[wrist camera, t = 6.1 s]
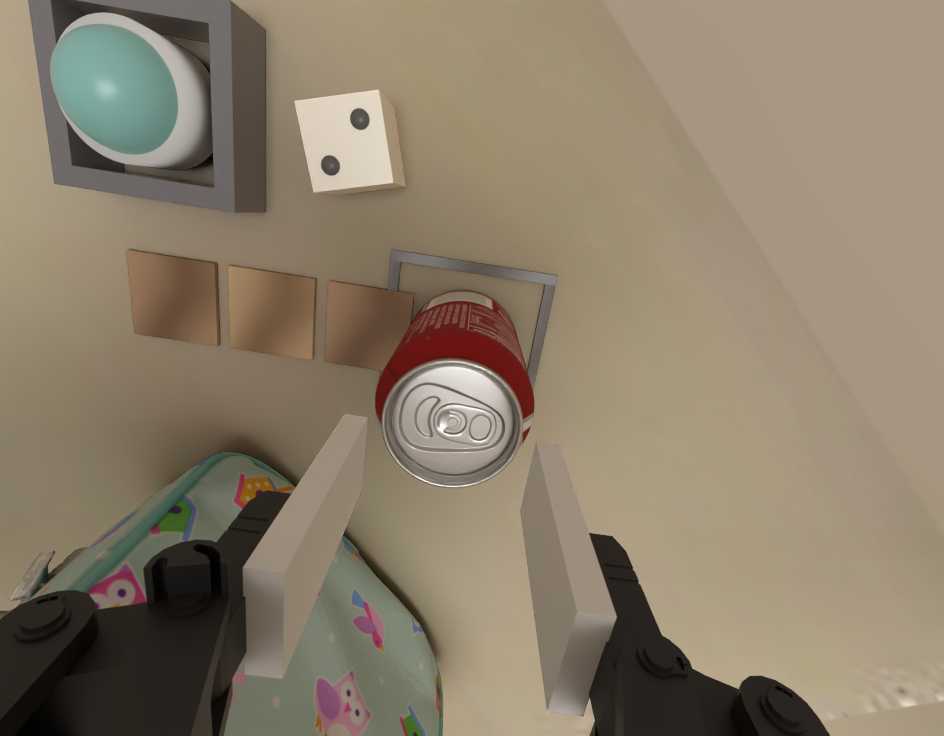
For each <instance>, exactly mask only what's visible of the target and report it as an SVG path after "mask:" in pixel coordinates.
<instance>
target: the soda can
mask: <svg viewBox="0 0 944 736" xmlns="http://www.w3.org/2000/svg"><path fill="white" fill-rule="evenodd" d="M375 408H376V415H377V420H378V423H379V426H380V429H381V431H382V434H383V438H384V441H385V444H386V446H387V449H388V451H389V452H390V454H391V456H392V457H393V459H394V460H395V461H396V462H397V463H398V465H399V466H400V467H401V468H402V469H404V470H405V471H406V472H407V473H409V474H410V475H412V476H413V477H415V478H417V479H418V480H420V481H423V482H425V483H428V484H431V485H434V486H438V487H445V488H462V487H469V486H473V485H477V484H480V483H482V482H485V481H487V480H489V479H491V478H492V477H494V476H496V475H497V474H498V473H500V472H501V471H502V470H503V469H504V468H505V467H506V466H507V465H508V464H509V463H510V462H511V460H512V459H513V457H514V456H515V454H516V452H517V450H518V449H519V447H520V446H521V445H522V443H523V442H524V440H525V439H526V437H527V435H528V432H529V430H530V427H531V424H532V420H533V415H534V395H533V390H532V386H531V382H530V379H529V375H528V372H527V368H526V365H525V362H524V358H523V355H522V351H521V348H520V344H519V341H518V338H517V334H516V331H515V328H514V325H513V323H512V321H511V319H510V317H509V315H508V314H507V313H506V311H505V310H504V309H503V308H502V307H501V306H500V305H499V304H498V303H496V302H495V301H494V300H492V299H491V298H489V297H487V296H485V295H482V294H479V293H476V292H471V291H453V292H449V293H445V294H442V295H440V296H437V297H436V298H434V299H432V300H431V301H429V302H428V303H427V304H426V305H424V306H423V307H422V309H421V310H420V311H419V312H418V313H417V315H416V317H415V318H414V320H413V322H412V323H411V325H410V327H409V328H408V330H407V332H406V333H405V335H404V336H403V338H402V340H401V341H400V343H399V345H398V346H397V348H396V350H395V351H394V353H393V355H392V356H391V358H390V360H389V361H388V363H387V365H386V367H385V368H384V370H383V372H382V374H381V376H380V379H379V382H378V385H377V390H376V397H375Z"/></svg>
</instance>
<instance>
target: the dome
mask: <svg viewBox="0 0 944 736" xmlns="http://www.w3.org/2000/svg"><path fill="white" fill-rule="evenodd" d="M50 77H51V82H52V87H53V90H54V93H55V95H56V98H57V100H58V103H59V105H60V108H61V110H62V112H63V114H64V116H65V118H66V119H67V121H68V122H69V124H70V125H71V127H72V128H73V130H74V131H75V132H76V133H77V134H78V136H79V137H80V138H81V139H82V140H83V141H84V142H85V143H86V144H87V145H89V146H90V147H91V148H92V149H94V150H95V151H97V152H98V153H100V154H101V155H103V156H105V157H107V158H109V159H111V160H114V161H117V162H120V163H124V164H130V165H138V166H146V167H153V168H161V169H169V170H184V169H189V168H192V167H194V166H197V165H199V164H200V163H202V162H203V161H205V160H206V159H207V158H208V157H209V156H210V155H211V154H212V152H213V137H212V108H211V79H210V74H209V72H208V71H207V70H206V68H205V67H204V65H203V64H202V63H201V62H200V61H199V60H198V59H197V58H196V57H195V56H194V55H193V54H192V53H190V52H189V51H188V50H186V49H185V48H183V47H182V46H180V45H178V44H176V43H174V42H173V41H171V40H169V39H167V38H165V37H163V36H162V35H160V34H158V33H156V32H154V31H152V30H151V29H149V28H147V27H145V26H143V25H141V24H140V23H138V22H136V21H134V20H132V19H130V18H127V17H125V16H122V15H118V14H114V13H105V12H103V13H93V14H89V15H86V16H83V17H81V18H79V19H77V20H76V21H74V22H73V23H71V24H70V25H69V26H68V27H67V28H66V29H65V31H64V32H63V34H62V35H61V36H60V38H59V40H58V42H57V44H56V46H55V48H54V50H53V53H52V56H51V62H50Z"/></svg>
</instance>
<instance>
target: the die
mask: <svg viewBox="0 0 944 736" xmlns="http://www.w3.org/2000/svg"><path fill="white" fill-rule="evenodd" d="M294 102H295V107H296V111H297V116H298V121H299V126H300V130H301V135H302V140H303V145H304V149H305V154H306V159H307V164H308V168H309V173H310V178H311V183H312V187H313V192H314V193H323V194H333V195H341V194H349V193H357V192H366V191H374V190H382V189H390V188H399V187H406V184H405V178H404V171H403V164H402V157H401V150H400V144H399V137H398V130H397V123H396V117H395V110H394V107H393V106H392V104H391V103H390V102H389V101H388V100H387V99H386V97H385V96H384V95H383V94H382V93H381V91H380V90H372V91H365V92H357V93H350V94H342V95H334V96H327V97H319V98H312V99H304V100H297V101H294Z"/></svg>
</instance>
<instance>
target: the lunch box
mask: <svg viewBox="0 0 944 736" xmlns="http://www.w3.org/2000/svg"><path fill="white" fill-rule="evenodd" d="M295 488H296V487H295V486H294V485H293V484H291V483H290V482H289V481H288V480H287V479H286V478H284V477H283V476H282V475H280V474H279V473H278V472H276V471H275V470H274V469H272V468H271V467H269V466H268V465H266V464H265V463H263V462H261V461H259V460H257V459H255V458H253V457H250V456H248V455H245V454H240V453H233V452H222V453H217V454H214V455H212V456H210V457H208V458H206V459H204V460H203V461H201V462H199V463H198V464H197V465H195V466H194V467H192V468H191V469H190V470H188V471H187V472H186V473H184V474H183V475H182V476H181V477H179V478H178V479H176V480H174V481H173V482H171V483H169V484H168V485H166V486H165V487H164V488H162V489H161V490H159V491H158V492H157V493H155V494H154V495H152V496H151V497H150V498H149V499H147V500H146V501H145V502H144V503H142V504H141V505H140V506H139V507H137V508H136V509H135V510H134V511H133V512H131V513H130V514H129V515H127V516H126V517H125V518H123V519H122V520H121V521H119V522H118V523H116V524H115V525H114V526H113V527H112V528H110V529H109V530H108V531H107V532H106V533H104V534H103V535H102V536H101V537H100V538H99V539H97V540H96V541H95V542H94V543H93V544H91V545H90V546H89V547H86V548H80V549H78V550H75V551H74V552H73V553H72V554H71V555H69V556H68V557H67V558H66V559H65V560H64V562H63V563H61V564H60V565H59V566H57V567H56V568H54V569H53V570H52V572H50V573H49V574H48V564H49V562H50V561H51V559H52V557H53V555H54V553H55V551H48V552H43V553H41V554H40V555H39V556H38V557H37V558H36V559H35V561H34V562H33V563H32V565H31V566H30V568H29V569H28V571H27V573H26V574H25V576H24V577H23V579H22V581H21V582H20V584H19V585H18V586H17V588H16V589H15V591H14V593H13V594H12V596H11V597H10V600H11V601H14V600H17V599H21V601H22V602H21V603H20V604H19V605H21V604H23V603H25V602H27V601H30V600H32V599H34V598H36V597H38V596H41V595H45V594H49V593H52V592H56V591H64V590H78V591H81V592H84V593H88V594H89V595H90V596H91V598H92V599H93V600H94V601H95V607H96V609H103V608H111V607H118V606H126V605H133V604H138V603H143V602H147V599H146V590H145V581H144V572H143V568H144V567H145V565H146V564H147V563H148V562H149V560H150V559H151V558H152V557H153V556H155V555H156V554H158V553H159V552H161V551H162V550H164V549H165V548H167V547H170V546H173V545H175V544H178V543H180V542H185V541H191V540H197V539H199V540H212V541H214V542H217V541H218V539H219V538H220V537H221V536H222V534H223V533H224V532H225V531H227V530H228V527H229V526H230V524H231V523H232V522H233V520H234V519H235V518H237V515H238V514H239V513H240V512H241V510H242V509H243V508H244V507H245V505H246V504H247V503H248V502H249V501H250V500H252V499H253V498H255V497H256V496H258V495H260V494H261V493H263V492H264V491H266V490H268V491H276V492H283V493H290V494H292V492H293V491H294V489H295ZM19 605H18V606H19ZM18 606H17V607H18ZM11 611H12V610H11ZM11 611H0V619H1V618H2V617H4V616H5V615H6V614H8V613H9V612H11ZM232 682H233V696H232V700H231V705H230V709H229V714H228V718H227V723H226V728H225V732H224V736H442V734H443V693H442V682H441V677H440V673H439V669H438V666H437V662H436V659H435V657H434V654H433V652H432V649H431V647H430V645H429V643H428V640H427V637H426V635H425V633H424V631H423V629H422V628H421V626H420V625H419V623H418V621H417V620H416V619H415V618H414V616H413V615H412V614H411V613H410V612H409V611H408V609H407V608H406V607H405V606H404V605H403V604H402V603H401V602H400V601H399V600H398V598H397V597H396V596H395V595H394V594H393V593H392V592H391V591H390V590H389V589H388V588H387V587H386V586H385V585H384V584H383V583H382V582H381V581H380V580H379V579H378V578H377V576H376V575H375V574H374V573H373V572H372V570H371V569H370V568H369V567H368V565H367V564H366V563H365V561H364V560H363V559H362V558H361V556H360V555H359V551H358V549H357V548H356V547H355V546H354V545H353V544H352V543H351V542H350V541H349V540H348V539H347V538H346V537H344V536H342V539H341V541H340V544H339V546H338V548H337V551H336V553H335V555H334V558H333V560H332V563H331V565H330V567H329V570H328V572H327V575H326V577H325V579H324V582H323V584H322V586H321V589H320V591H319V594H318V596H317V598H316V601H315V603H314V605H313V608H312V610H311V613H310V615H309V617H308V620H307V622H306V625H305V627H304V629H303V632H302V634H301V636H300V639H299V641H298V644H297V646H296V648H295V651H294V653H293V655H292V658H291V660H290V663H289V665H288V667H287V670H286V672H285V675H284V677H283V679H278V678H270V677H262V676H254V675H245V657H244V658H243V660H242V661H241V663H240V665H239V667H238V669H237V671H236V673H235V675H234V677H233V679H232Z"/></svg>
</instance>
